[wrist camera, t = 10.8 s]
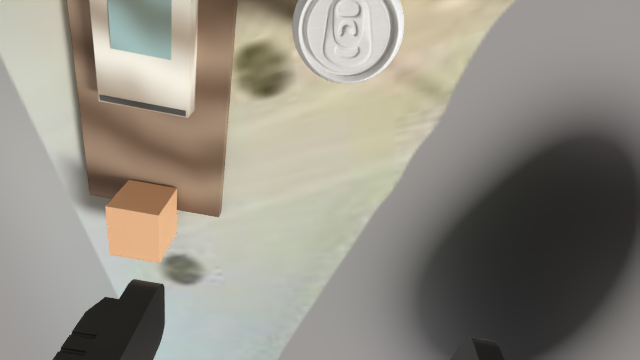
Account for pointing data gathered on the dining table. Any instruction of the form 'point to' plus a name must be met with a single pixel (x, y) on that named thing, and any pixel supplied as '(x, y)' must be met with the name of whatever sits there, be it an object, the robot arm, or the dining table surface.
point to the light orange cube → (142, 221)
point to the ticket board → (158, 131)
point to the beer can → (347, 37)
